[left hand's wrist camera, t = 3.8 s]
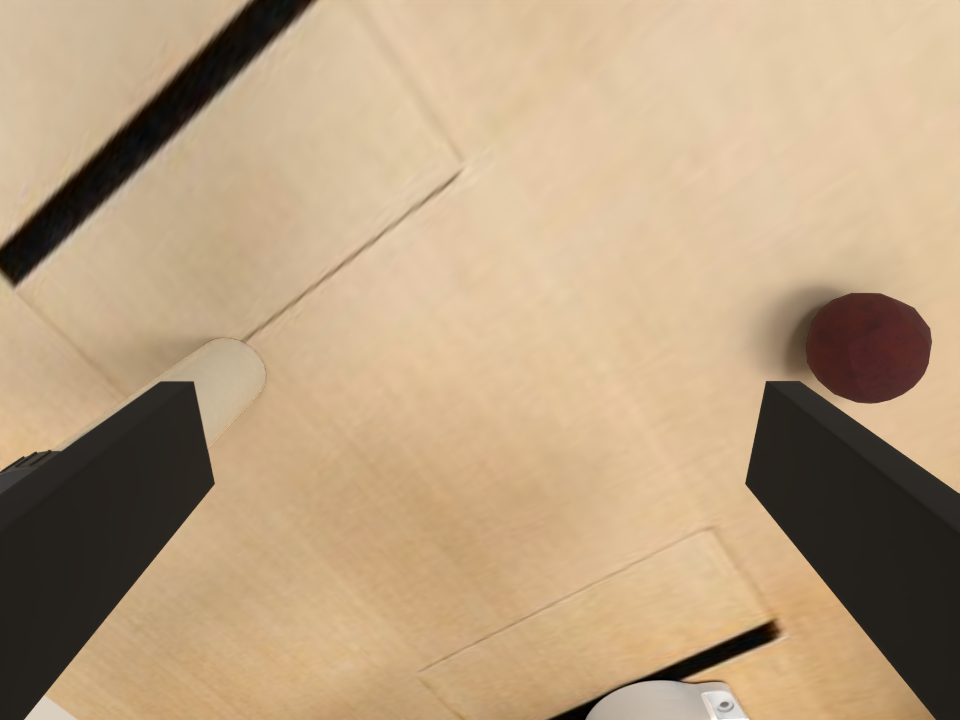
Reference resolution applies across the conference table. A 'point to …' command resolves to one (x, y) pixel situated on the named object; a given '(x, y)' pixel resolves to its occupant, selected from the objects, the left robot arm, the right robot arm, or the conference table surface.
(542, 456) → the conference table surface
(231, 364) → the jar
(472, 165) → the conference table surface
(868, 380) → the dark red ball
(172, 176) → the conference table surface
